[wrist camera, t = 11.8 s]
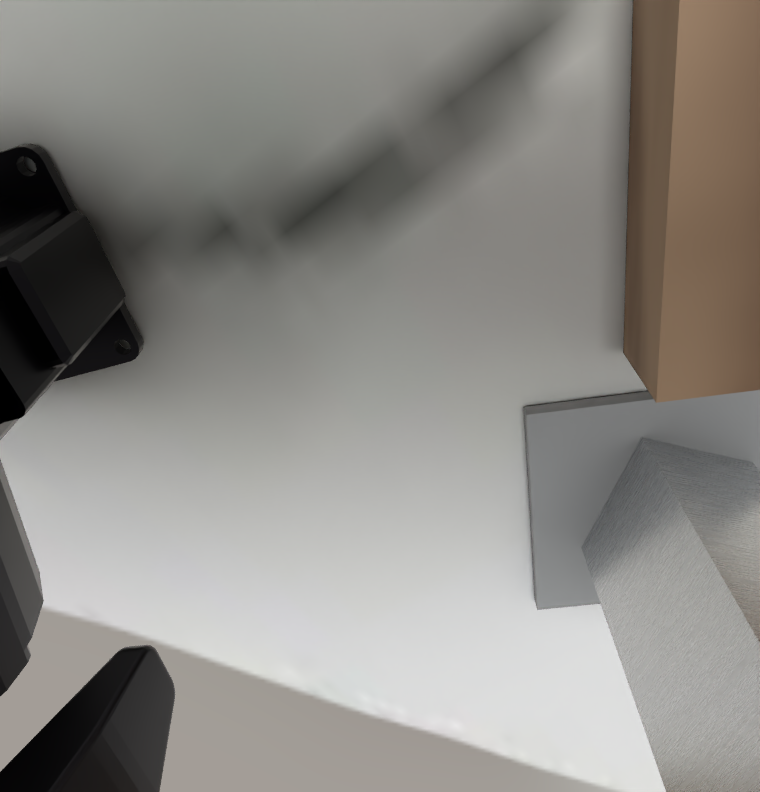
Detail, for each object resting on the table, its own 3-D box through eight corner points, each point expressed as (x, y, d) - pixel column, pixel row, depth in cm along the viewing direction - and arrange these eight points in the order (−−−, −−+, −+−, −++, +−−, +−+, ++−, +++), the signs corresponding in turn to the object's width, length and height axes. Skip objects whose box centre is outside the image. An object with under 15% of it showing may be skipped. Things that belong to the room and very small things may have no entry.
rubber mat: (534, 600, 27) (537, 609, 26) (524, 406, 22) (526, 415, 22) (772, 575, 26) (779, 585, 25) (811, 370, 21) (820, 378, 21)
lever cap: (581, 547, 25) (720, 948, 14) (641, 437, 22) (863, 825, 12) (682, 568, 25) (888, 971, 15) (752, 462, 23) (1060, 856, 12)
